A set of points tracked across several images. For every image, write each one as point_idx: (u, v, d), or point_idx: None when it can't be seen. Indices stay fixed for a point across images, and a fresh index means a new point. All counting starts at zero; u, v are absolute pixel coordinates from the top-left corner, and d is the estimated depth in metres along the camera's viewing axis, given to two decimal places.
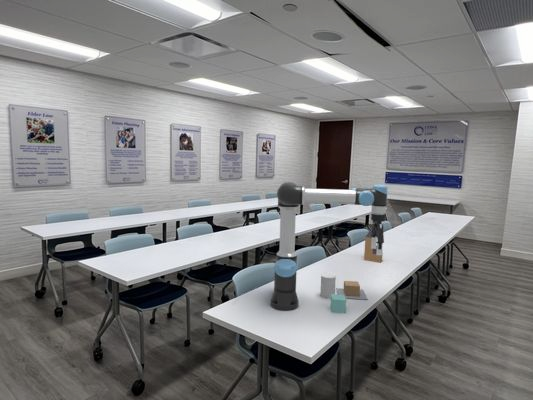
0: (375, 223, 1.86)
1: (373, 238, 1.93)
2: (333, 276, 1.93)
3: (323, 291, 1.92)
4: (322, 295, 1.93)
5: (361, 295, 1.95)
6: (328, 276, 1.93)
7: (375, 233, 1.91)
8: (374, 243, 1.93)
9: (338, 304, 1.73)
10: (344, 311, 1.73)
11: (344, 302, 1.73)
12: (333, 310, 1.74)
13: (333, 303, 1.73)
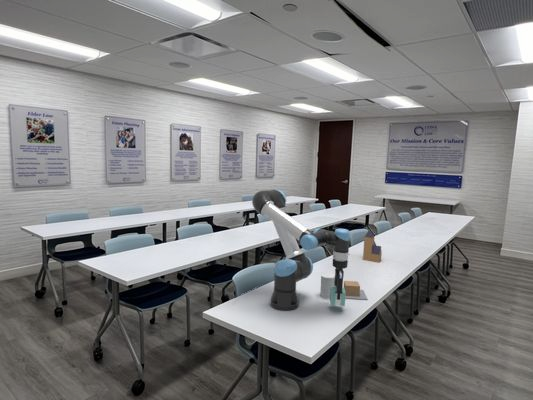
0: (337, 268, 1.76)
1: None
2: (333, 276, 1.93)
3: (323, 291, 1.92)
4: (322, 295, 1.93)
5: (361, 295, 1.95)
6: (328, 276, 1.93)
7: None
8: None
9: None
10: (343, 304, 1.73)
11: (343, 295, 1.73)
12: (332, 302, 1.74)
13: (332, 295, 1.73)
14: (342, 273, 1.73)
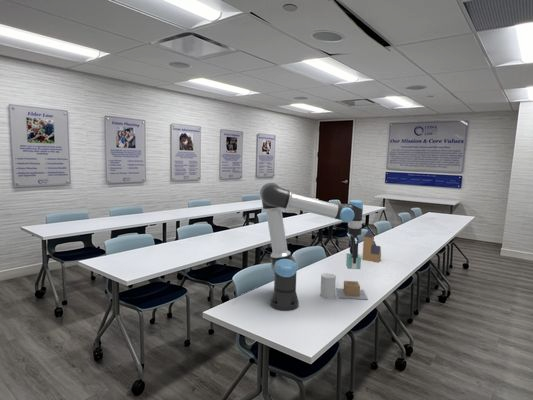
0: (352, 236, 1.95)
1: None
2: (333, 276, 1.93)
3: (323, 291, 1.92)
4: (322, 295, 1.93)
5: (361, 295, 1.95)
6: (328, 276, 1.93)
7: None
8: None
9: None
10: (359, 267, 1.92)
11: (359, 259, 1.92)
12: (349, 266, 1.93)
13: (349, 260, 1.92)
14: (357, 240, 1.92)
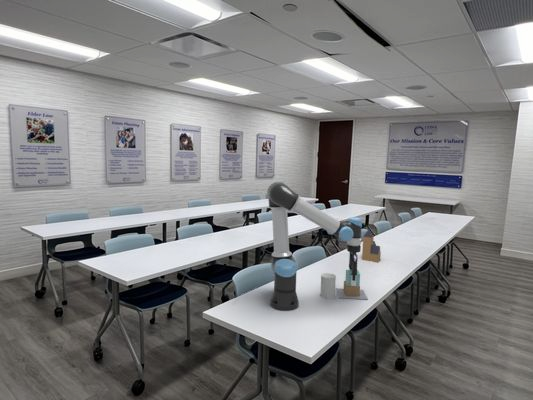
0: (351, 253, 1.96)
1: None
2: (333, 276, 1.93)
3: (323, 291, 1.92)
4: (322, 295, 1.93)
5: (361, 295, 1.95)
6: (328, 276, 1.93)
7: (352, 265, 1.99)
8: None
9: None
10: (358, 284, 1.93)
11: (358, 276, 1.93)
12: (348, 283, 1.94)
13: (348, 277, 1.93)
14: (356, 257, 1.93)
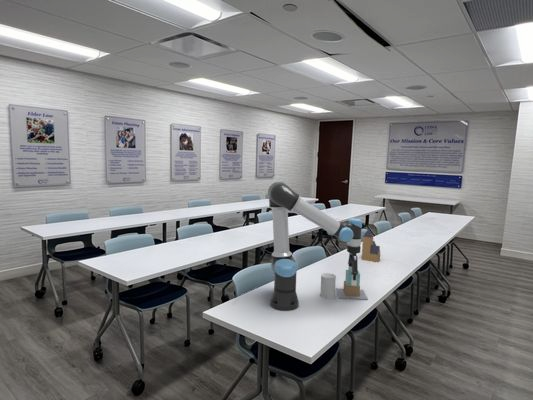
0: (351, 254, 1.96)
1: (350, 267, 2.03)
2: (333, 276, 1.93)
3: (323, 291, 1.92)
4: (322, 295, 1.93)
5: (361, 295, 1.95)
6: (328, 276, 1.93)
7: (351, 263, 2.01)
8: None
9: None
10: (358, 284, 1.93)
11: (358, 276, 1.93)
12: (348, 283, 1.94)
13: (348, 277, 1.93)
14: None
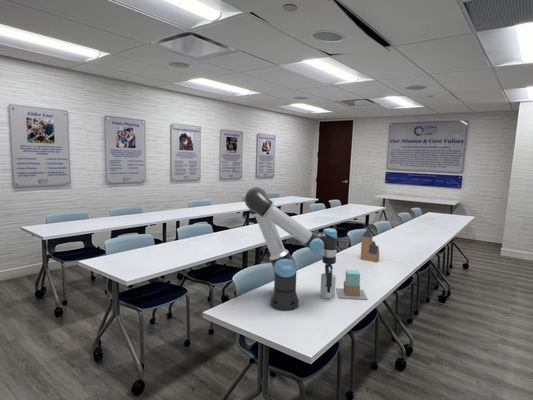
0: (326, 264, 1.95)
1: None
2: (333, 276, 1.93)
3: (323, 291, 1.92)
4: (322, 295, 1.93)
5: (361, 295, 1.95)
6: None
7: None
8: None
9: (352, 277, 1.93)
10: (358, 284, 1.93)
11: (358, 276, 1.93)
12: (348, 283, 1.94)
13: (348, 277, 1.93)
14: (331, 268, 1.91)
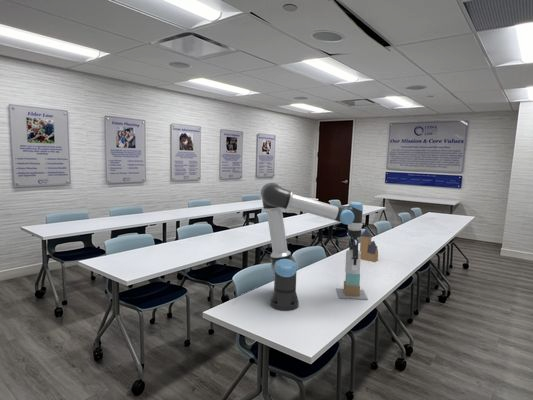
0: (352, 238, 1.95)
1: None
2: (358, 252, 1.94)
3: (348, 267, 1.93)
4: (347, 271, 1.94)
5: (361, 295, 1.95)
6: None
7: (352, 249, 1.99)
8: None
9: (352, 277, 1.93)
10: (358, 284, 1.93)
11: (358, 276, 1.93)
12: (348, 283, 1.94)
13: (348, 277, 1.93)
14: None
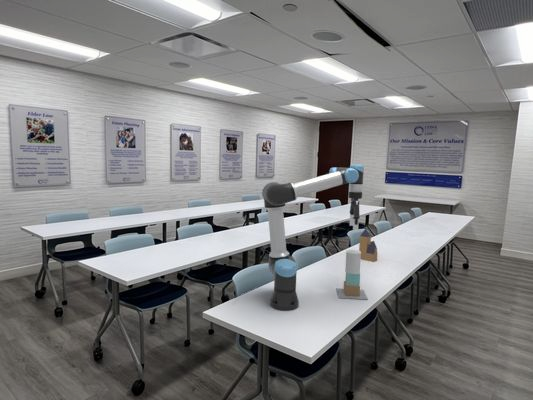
0: (352, 201, 1.97)
1: (351, 215, 2.03)
2: (358, 252, 1.94)
3: (348, 267, 1.93)
4: (347, 271, 1.94)
5: (361, 295, 1.95)
6: (354, 252, 1.94)
7: (353, 211, 2.02)
8: (352, 220, 2.03)
9: (352, 277, 1.93)
10: (358, 284, 1.93)
11: (358, 276, 1.93)
12: (348, 283, 1.94)
13: (348, 277, 1.93)
14: None
